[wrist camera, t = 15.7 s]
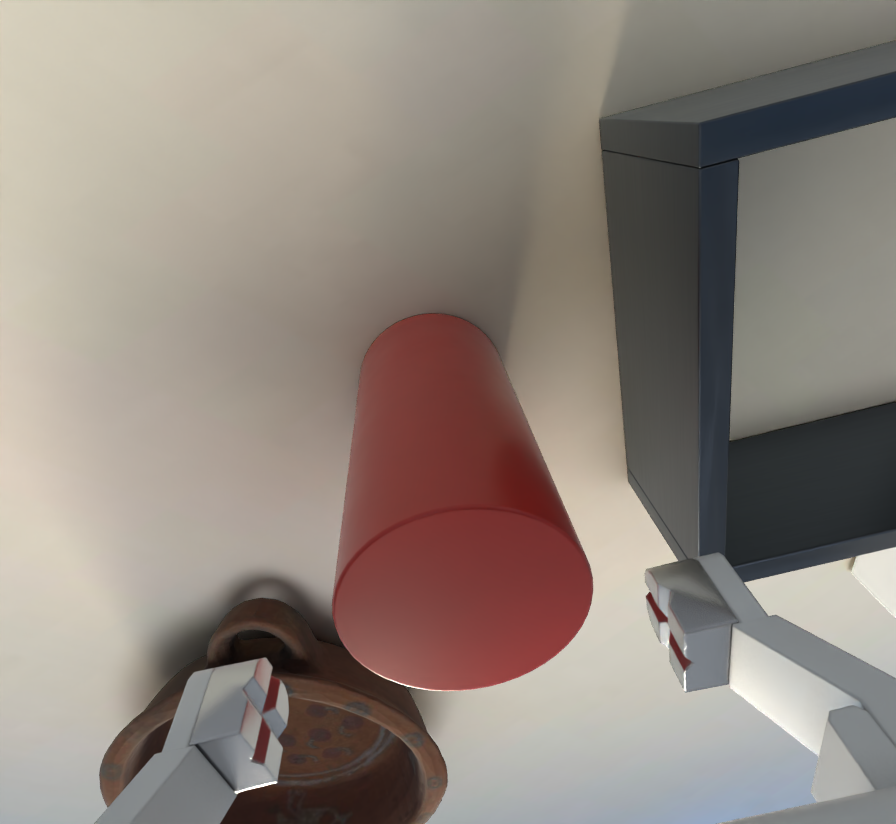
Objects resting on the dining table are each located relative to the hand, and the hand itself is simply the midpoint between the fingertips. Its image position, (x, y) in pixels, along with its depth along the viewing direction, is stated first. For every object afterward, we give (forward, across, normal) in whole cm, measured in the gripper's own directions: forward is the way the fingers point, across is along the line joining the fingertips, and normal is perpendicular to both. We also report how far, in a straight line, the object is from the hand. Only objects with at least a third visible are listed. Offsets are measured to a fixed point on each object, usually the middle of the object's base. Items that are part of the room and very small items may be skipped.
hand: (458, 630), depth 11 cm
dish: (+13, +13, +19) cm, 27 cm away
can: (+13, 0, 0) cm, 13 cm away
